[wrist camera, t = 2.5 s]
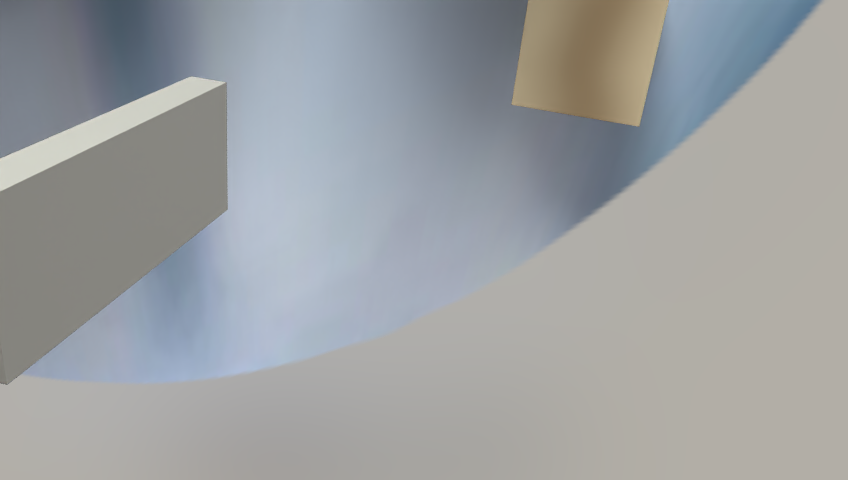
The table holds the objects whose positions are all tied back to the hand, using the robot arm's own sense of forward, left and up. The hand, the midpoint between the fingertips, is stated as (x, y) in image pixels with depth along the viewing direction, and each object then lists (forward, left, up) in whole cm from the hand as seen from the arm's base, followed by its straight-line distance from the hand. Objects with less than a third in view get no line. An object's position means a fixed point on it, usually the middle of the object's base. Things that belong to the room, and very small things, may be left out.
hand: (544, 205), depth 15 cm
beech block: (0, 0, -25) cm, 25 cm away
